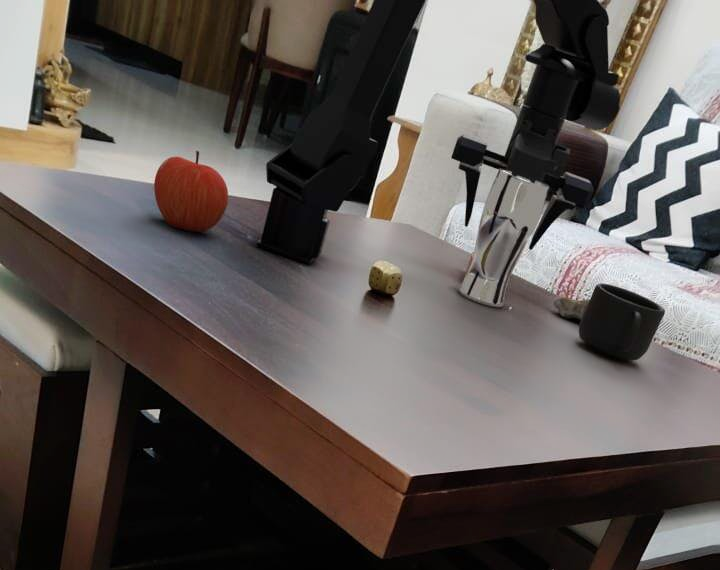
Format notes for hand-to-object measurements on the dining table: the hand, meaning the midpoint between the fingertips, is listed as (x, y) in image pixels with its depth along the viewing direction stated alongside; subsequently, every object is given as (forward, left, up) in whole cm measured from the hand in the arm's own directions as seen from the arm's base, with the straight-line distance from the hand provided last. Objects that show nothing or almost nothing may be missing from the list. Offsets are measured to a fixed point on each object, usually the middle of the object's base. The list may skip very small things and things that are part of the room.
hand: (498, 237), depth 133 cm
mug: (+17, -17, -6) cm, 25 cm away
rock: (+16, -2, -6) cm, 17 cm away
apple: (-35, -28, -6) cm, 45 cm away
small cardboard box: (0, 0, -6) cm, 6 cm away
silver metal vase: (0, -10, -6) cm, 12 cm away
